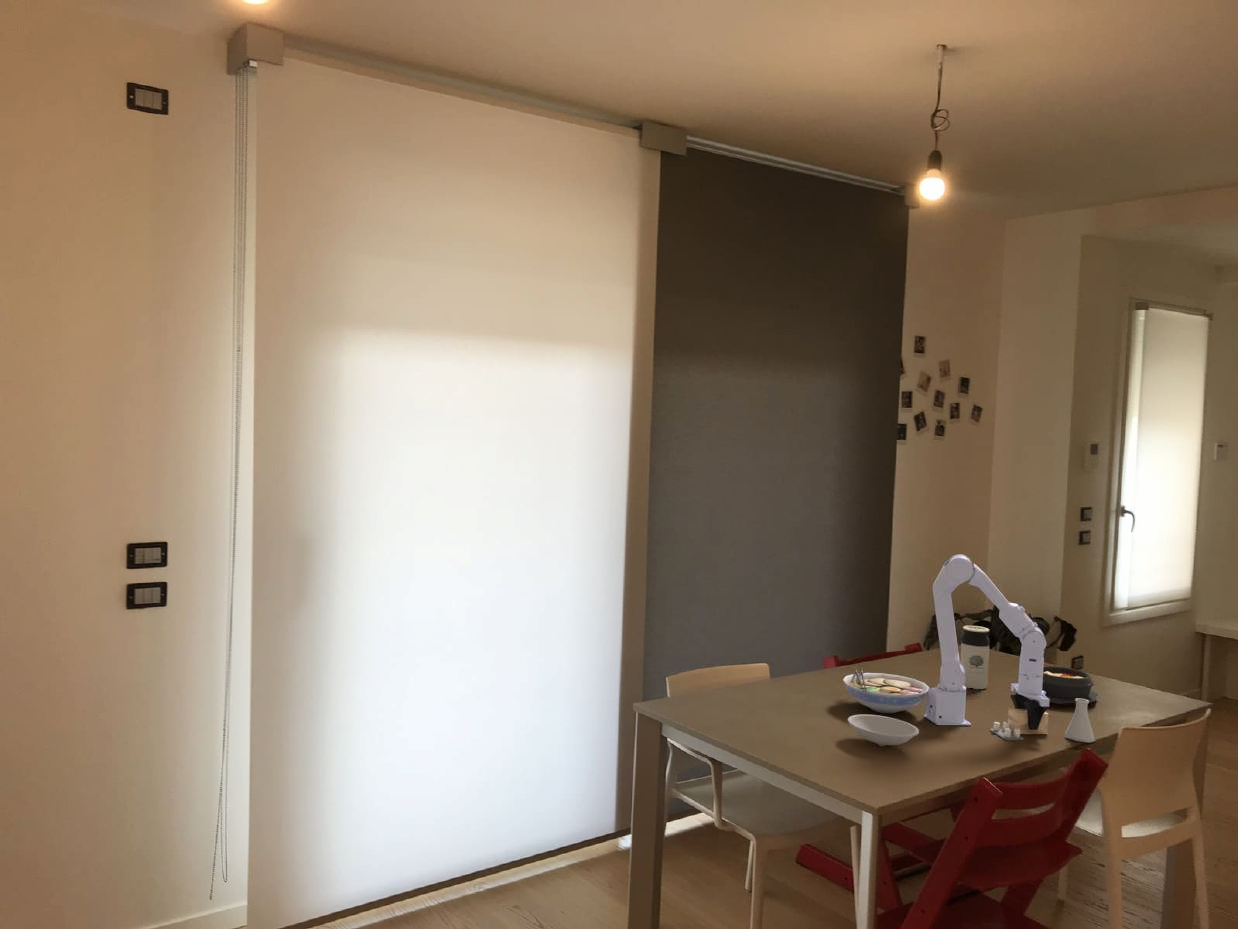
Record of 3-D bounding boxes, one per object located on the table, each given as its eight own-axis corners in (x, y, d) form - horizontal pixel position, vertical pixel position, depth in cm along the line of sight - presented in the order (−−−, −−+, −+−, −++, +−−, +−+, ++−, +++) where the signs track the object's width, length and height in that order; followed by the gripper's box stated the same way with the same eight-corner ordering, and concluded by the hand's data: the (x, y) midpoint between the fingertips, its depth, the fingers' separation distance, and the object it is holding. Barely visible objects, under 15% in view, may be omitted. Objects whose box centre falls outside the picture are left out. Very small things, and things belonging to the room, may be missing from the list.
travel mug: (960, 681, 295) (963, 624, 294) (987, 685, 291) (991, 627, 291) (957, 687, 287) (960, 628, 287) (985, 691, 284) (988, 632, 283)
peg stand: (1005, 740, 237) (1005, 730, 237) (989, 730, 245) (990, 721, 244) (1023, 740, 238) (1024, 730, 238) (1007, 730, 245) (1008, 721, 245)
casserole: (1068, 714, 263) (1070, 684, 263) (1007, 697, 278) (1009, 669, 278) (1113, 702, 278) (1115, 674, 278) (1053, 687, 293) (1054, 660, 293)
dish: (833, 740, 231) (834, 720, 231) (868, 730, 240) (869, 711, 240) (896, 761, 218) (897, 740, 218) (930, 750, 227) (931, 729, 227)
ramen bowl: (933, 727, 245) (935, 696, 245) (843, 718, 250) (844, 688, 249) (922, 701, 269) (923, 673, 269) (840, 694, 274) (841, 666, 274)
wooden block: (1016, 735, 242) (1017, 713, 242) (1007, 729, 247) (1008, 708, 247) (1047, 735, 244) (1048, 713, 243) (1037, 729, 248) (1039, 708, 248)
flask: (1068, 732, 246) (1070, 694, 246) (1098, 739, 242) (1101, 700, 241) (1060, 738, 241) (1063, 699, 240) (1091, 745, 236) (1094, 705, 236)
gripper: (1061, 681, 238) (1058, 735, 238) (1029, 667, 252) (1026, 717, 253) (1035, 681, 237) (1032, 735, 238) (1004, 667, 251) (1001, 717, 252)
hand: (1027, 726), depth 245 cm, fingers open, 4 cm apart
